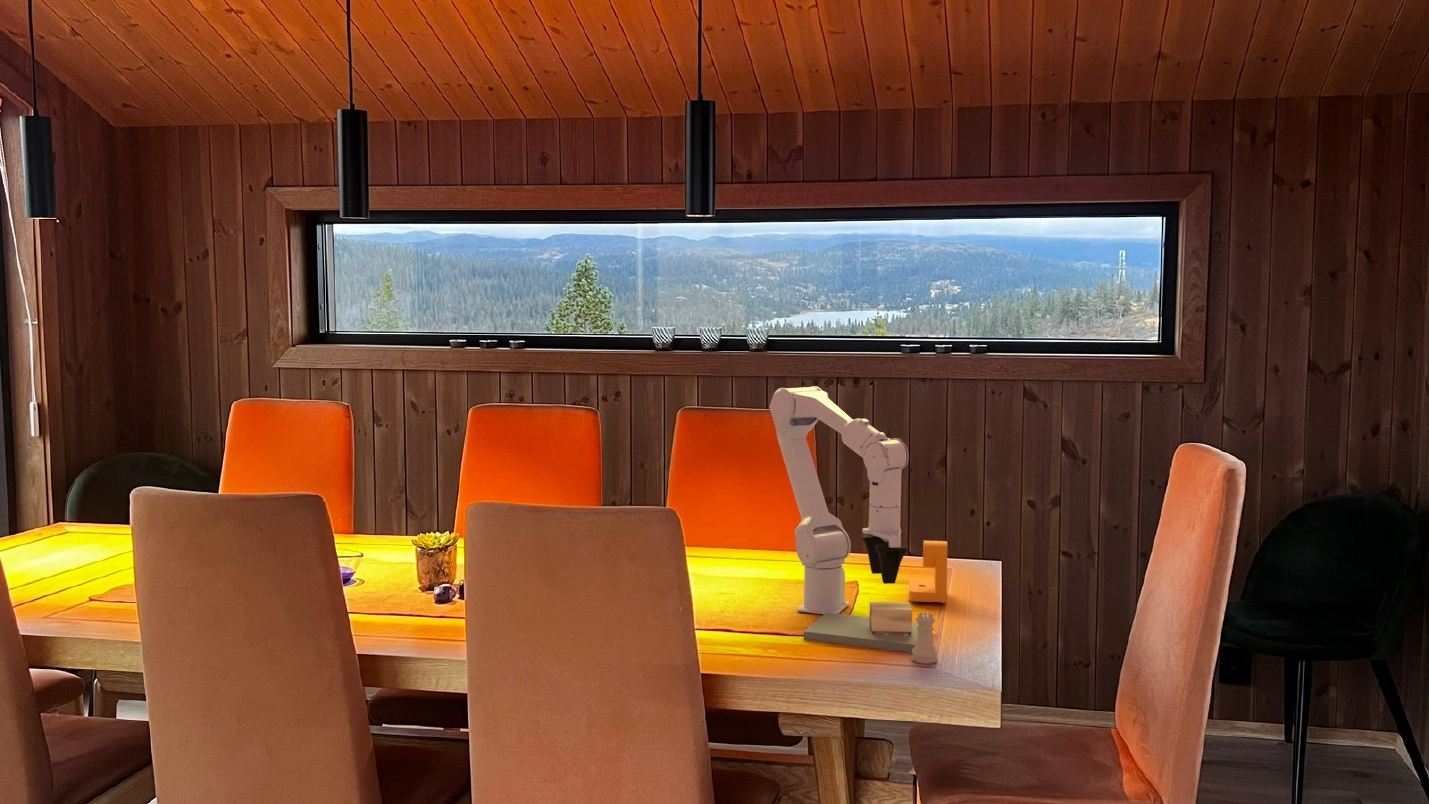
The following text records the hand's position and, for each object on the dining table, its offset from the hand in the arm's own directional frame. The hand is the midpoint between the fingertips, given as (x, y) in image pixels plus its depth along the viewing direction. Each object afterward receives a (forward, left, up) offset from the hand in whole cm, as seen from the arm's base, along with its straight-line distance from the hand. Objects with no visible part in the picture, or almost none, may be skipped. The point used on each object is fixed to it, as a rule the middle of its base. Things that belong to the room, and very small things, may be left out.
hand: (883, 578), depth 224 cm
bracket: (-25, +3, -10) cm, 27 cm away
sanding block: (+6, +3, -8) cm, 10 cm away
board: (+6, -1, -9) cm, 11 cm away
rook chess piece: (+16, +12, -10) cm, 22 cm away
